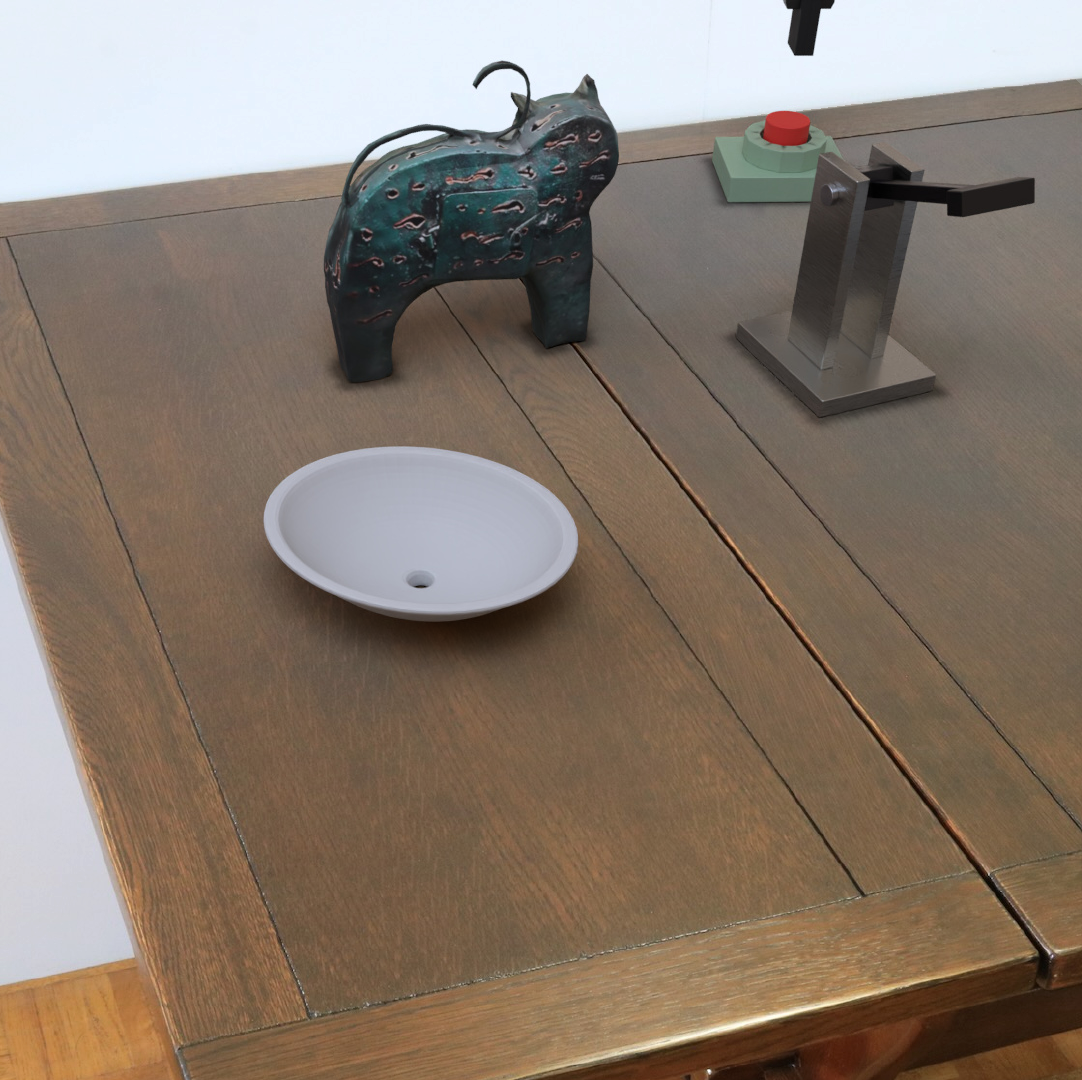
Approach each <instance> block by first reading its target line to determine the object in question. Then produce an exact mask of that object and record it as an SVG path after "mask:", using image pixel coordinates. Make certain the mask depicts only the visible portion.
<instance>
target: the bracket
mask: <svg viewBox="0 0 1082 1080" xmlns="http://www.w3.org/2000/svg"><path fill="white" fill-rule="evenodd" d="M843 159H844V158H843ZM843 159H842V158H840V157H839V156H837V155H836V154H835V153H833V152H826V153H821V154H819V157H818V163H817V169H816V175H815V180H814V186H813V192H812V198H811V202H810V205H809V210H808V216H807V222H806V227H805V228H806V229H805V234H804V239H803V245H802V251H801V256H800V261H799V268H798V274H797V279H796V280H797V281H796V286H795V292H794V297H793V303H792V309H791V310H789V311H784V312H779V313H775V314H770V315H766V316H761V317H756V318H752V319H747V320H741V321H738V322H737V327H736V332H735V334H736V335H735V339H736V340H737V341H739V342H740V344H742V345H743V347H745V348H746V349H747V350H748V351H749V352H750V353H751V354H752V355H753V356H754V357H755V358H756V359H758V361H760V363H761V364H763V366H765V367H766V368H767V369H768V371H770V372H771V373H772V374H773V375H774V376H775V378H777V379H778V380H779V381H780V382H781V383H782V384H783V385H785V386H786V387H787V388H788V390H790V391H791V392H792V394H794V395H795V396H796V397H797V398H798V399H799V400H800V401H801V402H802V403H804V404H805V406H806V407H807V408H809V409H810V411H812V413H814V414H815V415H816V416H817V417H818V418H822V417H828V416H831V415H837V414H840V413H844V412H849V411H853V410H857V409H862V408H865V407H870V406H874V405H878V404H882V403H887V402H890V401H895V400H900V399H904V398H908V397H913V396H917V395H921V394H925V393H930V392H932V391H933V390H934V386H935V382H936V378H937V374H936V373H935V372H934V371H932V369H930V368H929V367H928V366H927V365H926V364H924V363H923V362H922V361H921V360H919V359H918V358H917V357H916V356H915V355H913V354H912V353H911V352H910V351H909V350H907V349H906V348H905V347H904V346H902V345H901V344H900V343H899V342H898V341H896V339H894V338H893V337H892V336H891V335H890V334H889V332H890V328H891V324H892V319H893V315H894V310H895V306H896V301H897V296H898V293H899V288H900V283H901V279H902V274H903V269H904V265H905V261H906V256H907V253H908V252H907V251H908V248H909V242H910V238H911V234H912V230H913V229H912V228H913V224H914V220H915V216H916V210H917V206H918V202H913V201H901V200H894V205H893V206H888V207H883V208H878V209H873V210H867V211H864V209H865V204H866V199H867V194H868V189H869V184H870V179H869V178H868V177H866V176H865V175H864V174H862V173H861V172H860V171H858V170H857V169H855V168H856V167H855V166H853V165H851V164H850V163H849V162H847V161H846V160H845V159H844V160H843ZM867 166H887V167H893V180H901V181H917V182H923V179H924V175H925V171H926V169H925V168H924V167H922V166H921V165H919V164H918V163H917V162H915V161H913V160H912V159H911V158H909V157H908V156H906V155H905V154H903V153H901V152H900V151H899V150H898V149H896V148H895V147H893V146H892V145H890V144H888V143H887V142H886V141H883V142H876V143H872V144H871V148H870V152H869V158H868V163H867Z"/></svg>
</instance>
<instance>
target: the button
mask: <svg viewBox="0 0 1082 1080" xmlns="http://www.w3.org/2000/svg"><path fill="white" fill-rule="evenodd" d="M765 120H766V121H765V127H764V134H763V139H764V140H766V141H768V142H770V143H772V144H777V145H782V146H799V145H802V144H806V143H807V140H808V134H809V128H810V125H811V119H810V118H809V116H807V115H806V114H803V113H801V112H798V111H793V110H775V111H772V112H770V113H768V114H767V115H766V117H765Z"/></svg>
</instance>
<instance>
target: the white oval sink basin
mask: <svg viewBox="0 0 1082 1080" xmlns="http://www.w3.org/2000/svg"><path fill="white" fill-rule="evenodd" d="M263 530H264V533H265V535H266V538H267V541H268V542H269V544H270V547H271V549H272V550H273V551H274V553H275V555H276V556H277V557H278V558H279V559H280V560H281V561H282V562H283V564H284V565H285V566H287V567H288V568H289V569H290V570H291V571H292V572H294V573H295V574H296V575H298V576H299V577H300V578H301V579H302V580H305V581H307V582H308V583H310V584H311V585H312V586H315V587H316V588H319V589H321V590H322V591H324V592H327V593H329V594H331V595H334V596H336V597H338V598H339V599H342V600H344V601H346V602H347V603H350V604H351V605H354V606H356V607H359V608H361V609H364V610H366V611H369V612H372V613H376V614H378V615H379V614H380V615H382V616H385V617H391V618H395V619H401V620H407V621H415V622H452V621H461V620H466V619H471V618H476V617H480V616H485V615H487V614H490V613H494V612H496V611H499V610H501V609H504V608H508V607H512V606H515V605H518V604H521V603H524V602H525V601H528V600H530V599H531V600H532V599H533V598H535V597H537V596H539V595H541V594H542V593H544V592H547V590H549V589H550V588H552V587H554V586H555V585H556V584H558V582H559V581H561V580H562V579H563V577H564V576H565V575H566V574H567V573H568V572H569V570H570V569H571V567H572V565H573V563H574V562H575V559H576V557H577V554H578V549H579V533H578V528H577V525H576V523H575V521H574V518H573V516H572V514H571V512H570V511H569V510H568V508H567V507H566V505H565V503H563V502H562V501H561V500H560V499H559V498H558V496H556V495H555V494H554V493H553V492H552V491H551V490H549V489H548V488H547V487H545V486H544V485H542V484H541V483H540V482H538V481H537V480H535V479H533V478H532V477H530V476H528V475H526V474H525V473H522V472H521V471H519V470H516V469H514V468H512V467H510V466H507V465H505V464H502V463H500V462H497V461H494V460H490V459H487V458H485V457H481V456H477V455H474V454H470V453H465V452H460V451H455V450H449V449H444V448H443V449H442V448H436V447H427V446H426V447H424V446H409V445H408V446H407V445H406V446H405V445H404V446H403V445H401V446H397V445H394V446H377V447H368V448H366V447H365V448H359V449H353V450H347V451H343V452H340V453H336V454H332V455H328V456H326V457H323V458H320V459H316V460H315V461H313V462H310V463H308V464H306V465H304V466H302V467H300V468H298V469H296V470H295V471H293V472H292V473H290V474H289V475H287V476H286V477H285V478H284V479H283V480H281V481H280V483H279V484H277V486H276V487H275V488H274V489H273V490H272V492H271V494H270V496H269V497H268V500H267V502H266V504H265V507H264V511H263ZM416 586H417V587H416ZM418 586H425V587H418Z"/></svg>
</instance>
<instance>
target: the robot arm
mask: <svg viewBox="0 0 1082 1080" xmlns="http://www.w3.org/2000/svg"><path fill="white" fill-rule="evenodd" d="M782 1H783V4H784V6H785V8H786V9H787V10H792V12H791V17H790V24H789V30H788V37H787V45H788V46H789V48H790V50H791V52H792V54H793V56H794V57H813V56H814V53H815V48H816V42H817V35H818V29H819V23H820V18H821V12H822V10H832V8H833V5H834V4H835V2H836V0H782Z"/></svg>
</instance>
